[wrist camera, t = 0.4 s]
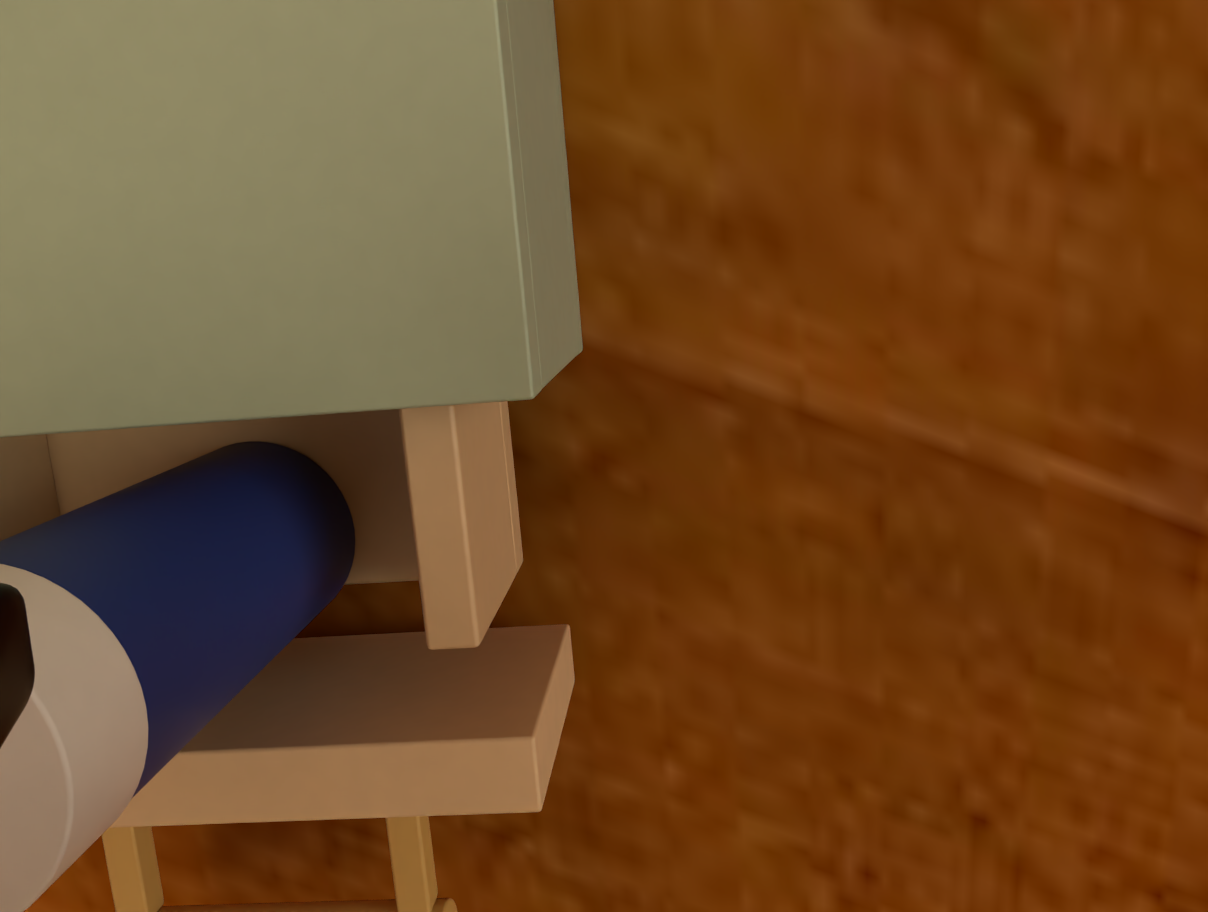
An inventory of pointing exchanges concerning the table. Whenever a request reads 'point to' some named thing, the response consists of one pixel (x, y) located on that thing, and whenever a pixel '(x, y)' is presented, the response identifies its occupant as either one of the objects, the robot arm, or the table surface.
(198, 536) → the glue stick
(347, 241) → the cabinet
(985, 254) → the table surface
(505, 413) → the drawer
